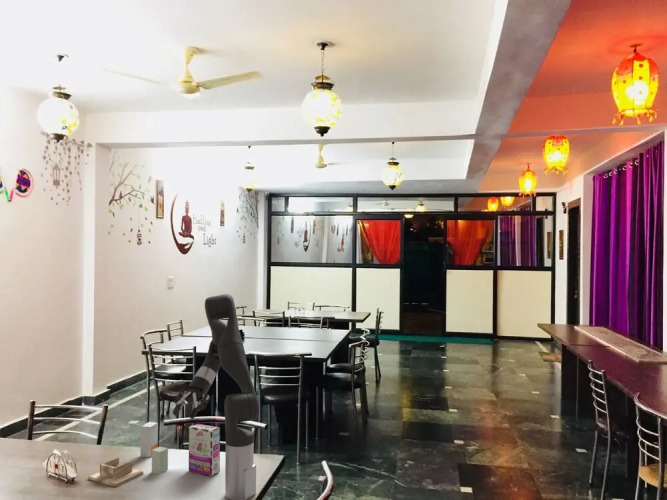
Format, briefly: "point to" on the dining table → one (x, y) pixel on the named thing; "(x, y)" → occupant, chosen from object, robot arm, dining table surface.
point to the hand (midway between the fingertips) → (182, 416)
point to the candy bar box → (204, 449)
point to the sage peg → (159, 460)
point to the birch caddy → (115, 473)
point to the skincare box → (148, 438)
